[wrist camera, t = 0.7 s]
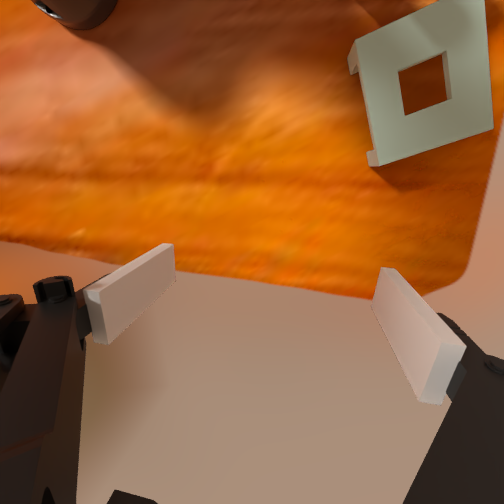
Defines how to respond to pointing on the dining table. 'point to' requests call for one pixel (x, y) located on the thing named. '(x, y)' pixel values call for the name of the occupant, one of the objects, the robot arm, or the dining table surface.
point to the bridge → (417, 51)
